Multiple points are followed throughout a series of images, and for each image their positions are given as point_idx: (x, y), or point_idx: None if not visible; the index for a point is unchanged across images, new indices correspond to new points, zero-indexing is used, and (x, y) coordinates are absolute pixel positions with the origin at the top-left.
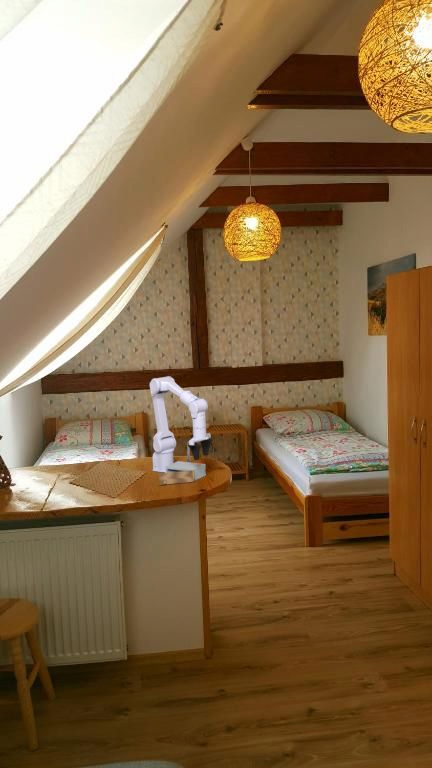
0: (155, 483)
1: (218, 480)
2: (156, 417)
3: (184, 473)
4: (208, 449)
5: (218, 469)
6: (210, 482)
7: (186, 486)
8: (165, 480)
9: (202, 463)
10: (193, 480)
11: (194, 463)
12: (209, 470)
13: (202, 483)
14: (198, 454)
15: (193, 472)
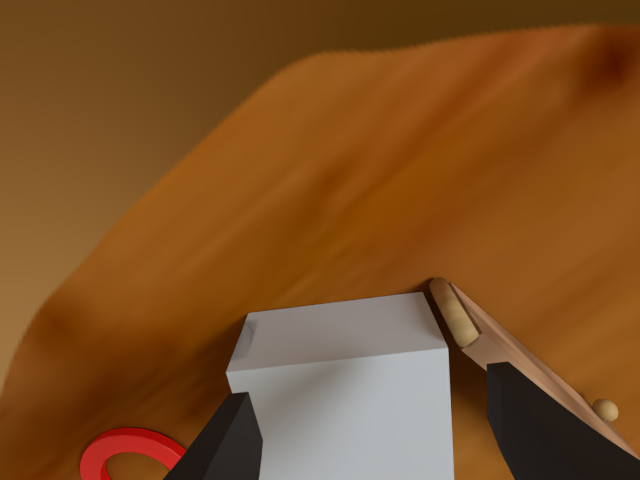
0: None
1: (305, 130)
2: None
3: (525, 367)
4: (199, 464)
5: (88, 320)
6: (386, 156)
7: (558, 257)
8: (601, 420)
9: (87, 472)
10: (447, 285)
11: (266, 455)
12: (150, 358)
13: (439, 198)
14: (576, 419)
15: (469, 319)
